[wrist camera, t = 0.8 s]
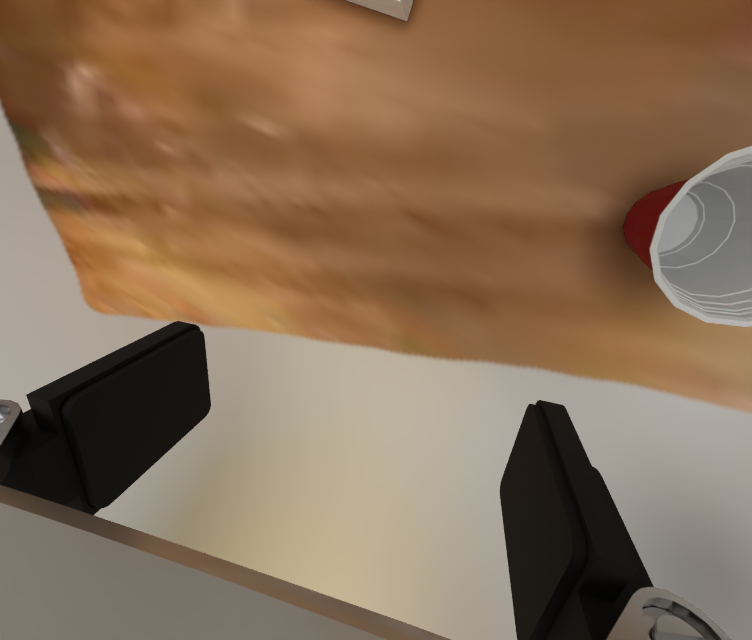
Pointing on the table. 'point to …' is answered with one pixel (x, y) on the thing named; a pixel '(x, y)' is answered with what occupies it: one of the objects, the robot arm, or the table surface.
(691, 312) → the plastic cup
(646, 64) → the table surface
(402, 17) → the bar
